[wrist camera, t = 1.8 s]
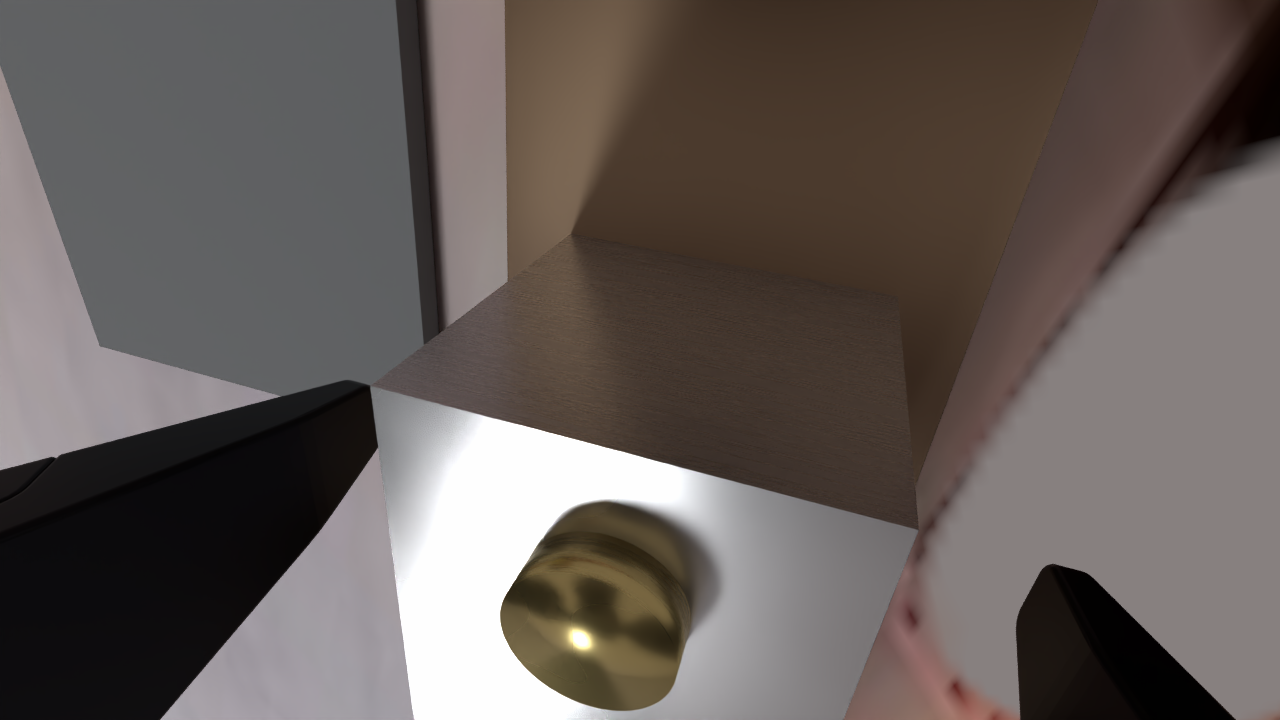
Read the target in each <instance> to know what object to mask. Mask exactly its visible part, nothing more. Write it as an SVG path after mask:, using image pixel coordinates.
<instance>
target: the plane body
mask: <svg viewBox="0 0 1280 720" xmlns="http://www.w3.org/2000/svg"><path fill="white" fill-rule="evenodd" d="M1097 3H1098V0H505V63H506V159H507V256H508V281H509V280H510V279H512V278H513V277H514V276H516V275H517V274H518V273H520V272H521V271H522V270H524V269H525V268H526V267H528V266H529V265H530V264H532V263H533V262H534V261H535V260H537V259H538V258H539V257H541V256H542V255H543V254H545V253H546V252H547V251H549V250H550V249H551V248H553V247H554V246H555V245H557V244H558V243H559V242H561V241H562V240H563V239H564V238H566V237H567V236H568V235H570V234H576V235H581V236H586V237H591V238H597V239H602V240H607V241H612V242H617V243H623V244H628V245H633V246H638V247H644V248H649V249H654V250H659V251H664V252H670V253H675V254H680V255H685V256H690V257H696V258H701V259H706V260H711V261H717V262H722V263H727V264H732V265H737V266H743V267H748V268H753V269H758V270H764V271H769V272H774V273H779V274H784V275H790V276H795V277H800V278H805V279H810V280H816V281H821V282H826V283H831V284H837V285H842V286H847V287H852V288H857V289H863V290H868V291H873V292H878V293H884V294H889V295H894V296H898V304H899V315H900V326H901V337H902V349H903V360H904V371H905V382H906V393H907V405H908V416H909V427H910V438H911V449H912V460H913V472H914V483H915V485H916V482H917V480H918V477H919V475H920V472H921V469H922V467H923V464H924V461H925V459H926V456H927V453H928V451H929V448H930V445H931V443H932V440H933V437H934V435H935V432H936V429H937V427H938V424H939V422H940V419H941V416H942V414H943V411H944V408H945V406H946V403H947V400H948V398H949V395H950V392H951V390H952V387H953V384H954V382H955V379H956V376H957V374H958V371H959V369H960V366H961V363H962V361H963V358H964V355H965V353H966V350H967V347H968V345H969V342H970V339H971V337H972V334H973V331H974V329H975V326H976V323H977V321H978V318H979V316H980V313H981V310H982V308H983V305H984V302H985V300H986V297H987V294H988V292H989V289H990V286H991V284H992V281H993V278H994V276H995V273H996V270H997V268H998V265H999V263H1000V260H1001V257H1002V255H1003V252H1004V249H1005V247H1006V244H1007V241H1008V239H1009V236H1010V233H1011V231H1012V228H1013V225H1014V223H1015V220H1016V217H1017V215H1018V212H1019V210H1020V207H1021V204H1022V202H1023V199H1024V196H1025V194H1026V191H1027V188H1028V186H1029V183H1030V180H1031V178H1032V175H1033V172H1034V170H1035V167H1036V164H1037V162H1038V159H1039V157H1040V154H1041V151H1042V149H1043V146H1044V143H1045V141H1046V138H1047V135H1048V133H1049V130H1050V127H1051V125H1052V122H1053V119H1054V117H1055V114H1056V112H1057V109H1058V106H1059V104H1060V101H1061V98H1062V96H1063V93H1064V90H1065V88H1066V85H1067V82H1068V80H1069V77H1070V74H1071V72H1072V69H1073V66H1074V64H1075V61H1076V59H1077V56H1078V53H1079V51H1080V48H1081V45H1082V43H1083V40H1084V37H1085V35H1086V32H1087V29H1088V27H1089V24H1090V21H1091V19H1092V16H1093V13H1094V11H1095V8H1096V6H1097Z"/></svg>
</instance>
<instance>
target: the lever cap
mask: <svg viewBox="0 0 1280 720" xmlns="http://www.w3.org/2000/svg"><path fill="white" fill-rule="evenodd" d="M370 388H371V396H372V404H373V411H374V419H375V426H376V434H377V442H378V449H379V457H380V464H381V472H382V480H383V487H384V495H385V502H386V510H387V518H388V525H389V533H390V540H391V548H392V556H393V563H394V571H395V579H396V586H397V594H398V601H399V609H400V617H401V624H402V632H403V639H404V647H405V655H406V662H407V670H408V677H409V685H410V693H411V700H412V708H413V715H414V720H843V719H844V717H845V714H846V712H847V709H848V707H849V704H850V702H851V699H852V697H853V694H854V692H855V689H856V687H857V684H858V682H859V679H860V677H861V674H862V672H863V669H864V667H865V664H866V662H867V659H868V656H869V654H870V651H871V649H872V646H873V644H874V641H875V639H876V636H877V634H878V631H879V629H880V626H881V624H882V621H883V619H884V616H885V614H886V611H887V609H888V606H889V604H890V601H891V599H892V596H893V594H894V591H895V589H896V586H897V584H898V581H899V579H900V576H901V573H902V571H903V568H904V566H905V563H906V561H907V558H908V556H909V553H910V551H911V548H912V546H913V543H914V541H915V538H916V536H917V533H918V531H919V527H918V516H917V505H916V494H915V483H914V472H913V460H912V449H911V438H910V427H909V416H908V405H907V393H906V382H905V371H904V360H903V349H902V337H901V326H900V315H899V304H898V296H894V295H889V294H884V293H878V292H873V291H868V290H863V289H857V288H852V287H847V286H842V285H837V284H831V283H826V282H821V281H816V280H810V279H805V278H800V277H795V276H790V275H784V274H779V273H774V272H769V271H764V270H758V269H753V268H748V267H743V266H737V265H732V264H727V263H722V262H717V261H711V260H706V259H701V258H696V257H690V256H685V255H680V254H675V253H670V252H664V251H659V250H654V249H649V248H644V247H638V246H633V245H628V244H623V243H617V242H612V241H607V240H602V239H597V238H591V237H586V236H581V235H576V234H570V235H568V236H567V237H566V238H564V239H563V240H562V241H561V242H559V243H558V244H557V245H555V246H554V247H553V248H551V249H550V250H549V251H547V252H546V253H545V254H543V255H542V256H541V257H539V258H538V259H537V260H535V261H534V262H533V263H532V264H530V265H529V266H528V267H526V268H525V269H524V270H522V271H521V272H520V273H518V274H517V275H516V276H514V277H513V278H512V279H510V280H509V281H508V282H506V283H505V284H504V285H503V286H501V287H500V288H499V289H497V290H496V291H495V292H493V293H492V294H491V295H489V296H488V297H487V298H485V299H484V300H483V301H481V302H480V303H479V304H477V305H476V306H475V307H474V308H472V309H471V310H470V311H468V312H467V313H466V314H464V315H463V316H462V317H460V318H459V319H458V320H456V321H455V322H454V323H452V324H451V325H450V326H448V327H447V328H446V329H445V330H443V331H442V332H441V333H439V334H438V335H437V336H435V337H434V338H433V339H431V340H430V341H429V342H427V343H426V344H425V345H423V346H422V347H421V348H420V349H418V350H417V351H416V352H414V353H413V354H412V355H410V356H409V357H408V358H406V359H405V360H404V361H402V362H401V363H400V364H398V365H397V366H396V367H394V368H393V369H392V370H391V371H389V372H388V373H387V374H385V375H384V376H383V377H381V378H380V379H379V380H377V381H376V382H375V383H373V384H372V385H371V386H370Z"/></svg>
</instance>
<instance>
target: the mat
mask: <svg viewBox="0 0 1280 720" xmlns="http://www.w3.org/2000/svg"><path fill="white" fill-rule="evenodd" d="M0 66H1V69H2V72H3V74H4V77H5V80H6V83H7V86H8V89H9V91H10V94H11V97H12V100H13V103H14V105H15V108H16V111H17V114H18V117H19V119H20V122H21V125H22V128H23V131H24V134H25V136H26V139H27V142H28V145H29V148H30V150H31V153H32V156H33V159H34V162H35V165H36V167H37V170H38V173H39V176H40V179H41V181H42V184H43V187H44V190H45V193H46V196H47V198H48V201H49V204H50V207H51V210H52V212H53V215H54V218H55V221H56V224H57V227H58V229H59V232H60V235H61V238H62V241H63V243H64V246H65V249H66V252H67V255H68V258H69V260H70V263H71V266H72V269H73V272H74V274H75V277H76V280H77V283H78V286H79V288H80V291H81V294H82V297H83V300H84V303H85V305H86V308H87V311H88V314H89V317H90V319H91V322H92V325H93V328H94V331H95V334H96V336H97V339H98V342H99V345H100V346H101V347H105V348H109V349H112V350H116V351H120V352H123V353H127V354H130V355H134V356H138V357H141V358H145V359H149V360H152V361H156V362H159V363H163V364H167V365H170V366H174V367H178V368H181V369H185V370H188V371H192V372H196V373H199V374H203V375H207V376H210V377H214V378H217V379H221V380H225V381H228V382H232V383H236V384H239V385H243V386H246V387H250V388H254V389H257V390H261V391H265V392H268V393H272V394H275V395H279V396H285V395H289V394H293V393H297V392H300V391H304V390H308V389H312V388H316V387H319V386H323V385H327V384H331V383H335V382H338V381H342V380H353V381H357V382H360V383H364V384H368V385H372V384H373V383H375V382H376V381H377V380H379V379H380V378H381V377H383V376H384V375H385V374H387V373H388V372H389V371H391V370H392V369H393V368H394V367H396V366H397V365H398V364H400V363H401V362H402V361H404V360H405V359H406V358H408V357H409V356H410V355H412V354H413V353H414V352H416V351H417V350H418V349H420V348H421V347H422V346H423V345H425V344H426V343H427V342H429V341H430V340H431V339H433V338H434V337H435V336H437V335H438V334H439V327H438V312H437V298H436V283H435V268H434V254H433V239H432V224H431V210H430V195H429V180H428V166H427V151H426V136H425V122H424V107H423V92H422V78H421V63H420V49H419V34H418V19H417V5H416V0H0Z"/></svg>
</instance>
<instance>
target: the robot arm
mask: <svg viewBox="0 0 1280 720" xmlns="http://www.w3.org/2000/svg"><path fill="white" fill-rule="evenodd" d="M370 386H371V385H368V384H364V383H360V382H357V381H353V380H342V381H338V382H335V383H331V384H327V385H323V386H319V387H316V388H312V389H308V390H304V391H300V392H297V393H293V394H289V395H285V396H281V397H278V398H274V399H270V400H266V401H262V402H259V403H255V404H251V405H247V406H243V407H240V408H236V409H232V410H228V411H224V412H221V413H217V414H213V415H209V416H206V417H202V418H198V419H194V420H190V421H187V422H183V423H179V424H175V425H171V426H168V427H164V428H160V429H156V430H152V431H149V432H145V433H141V434H137V435H133V436H130V437H126V438H122V439H118V440H114V441H111V442H107V443H103V444H99V445H95V446H92V447H88V448H84V449H80V450H76V451H73V452H69V453H65V454H61V455H60V456H58V457H57V458H55V457H49V458H45V459H42V460H38V461H34V462H30V463H27V464H23V465H19V466H15V467H11V468H7V469H3V470H0V720H160V719H161V718H162V717H163V716H164V715H165V713H166V712H167V711H168V710H169V709H170V707H171V706H172V705H173V704H174V703H175V702H176V700H177V699H178V698H179V697H180V696H181V695H182V693H183V692H184V691H185V690H186V689H187V687H188V686H189V685H190V684H191V683H192V682H193V680H194V679H195V678H196V677H197V676H198V675H199V673H200V672H201V671H202V670H203V669H204V667H205V666H206V665H207V664H208V663H209V662H210V660H211V659H212V658H213V657H214V656H215V654H216V653H217V652H218V651H219V650H220V649H221V647H222V646H223V645H224V644H225V643H226V642H227V640H228V639H229V638H230V637H231V636H232V634H233V633H234V632H235V631H236V630H237V629H238V627H239V626H240V625H241V624H242V623H243V622H244V620H245V619H246V618H247V617H248V616H249V614H250V613H251V612H252V611H253V610H254V609H255V607H256V606H257V605H258V604H259V603H260V601H261V600H262V599H263V598H264V597H265V596H266V594H267V593H268V592H269V591H270V590H271V589H272V587H273V586H274V585H275V584H276V583H277V581H278V580H279V579H280V578H281V577H282V576H283V574H284V573H285V572H286V571H287V570H288V569H289V567H290V566H291V565H292V564H293V563H294V561H295V560H296V559H297V558H298V557H299V556H300V554H301V553H302V552H303V551H304V550H305V548H306V547H307V546H308V545H309V544H310V543H311V541H312V540H313V539H314V538H315V536H316V535H317V534H318V533H319V531H320V530H321V529H322V527H323V526H324V525H325V523H326V522H327V521H328V519H329V518H330V516H331V515H332V514H333V512H334V511H335V509H336V508H337V506H338V505H339V503H340V502H341V501H342V499H343V498H344V496H345V495H346V493H347V492H348V490H349V489H350V488H351V486H352V485H353V483H354V482H355V480H356V479H357V477H358V476H359V474H360V473H361V472H362V470H363V469H364V467H365V466H366V464H367V463H368V461H369V460H370V459H371V457H372V456H373V454H374V453H375V451H376V450H377V448H378V442H377V434H376V426H375V419H374V411H373V404H372V396H371V388H370ZM1016 641H1017V661H1018V681H1019V701H1020V720H1236V719H1235V718H1234V717H1232V715H1231V714H1230V713H1229V712H1228V711H1227V710H1226V709H1225V708H1224V707H1223V706H1222V705H1221V704H1220V703H1218V701H1217V700H1216V699H1215V698H1214V697H1212V695H1211V694H1210V693H1208V692H1207V690H1205V689H1204V688H1203V687H1202V686H1201V685H1200V684H1199V683H1198V682H1197V681H1196V680H1195V679H1194V678H1193V677H1192V676H1191V675H1190V674H1189V673H1188V672H1187V671H1186V670H1185V669H1184V668H1183V667H1182V666H1181V665H1180V664H1179V663H1178V662H1177V661H1176V660H1175V659H1174V658H1173V657H1172V656H1171V655H1170V654H1169V653H1168V652H1167V651H1166V650H1165V649H1164V648H1163V647H1162V646H1161V645H1160V644H1159V643H1158V642H1157V641H1156V640H1155V639H1154V638H1153V637H1152V636H1151V635H1150V634H1149V633H1148V632H1147V631H1146V630H1145V629H1144V628H1143V627H1142V626H1141V625H1140V624H1139V623H1138V622H1137V621H1136V620H1135V619H1134V618H1133V617H1132V616H1131V615H1130V614H1129V613H1128V612H1127V611H1126V610H1125V609H1124V608H1123V607H1122V606H1121V605H1120V604H1119V603H1118V602H1117V601H1116V600H1115V599H1114V598H1113V597H1112V596H1111V595H1110V594H1108V592H1107V591H1106V590H1105V589H1104V588H1103V587H1102V586H1101V585H1100V584H1099V583H1098V582H1097V581H1096V580H1095V579H1094V578H1092V577H1091V576H1090V575H1089V574H1087V573H1085V572H1082V571H1079V570H1075V569H1071V568H1067V567H1063V566H1059V565H1056V564H1050V565H1047V566H1045V567H1044V568H1043V569H1042V570H1041V572H1040V574H1039V575H1038V577H1037V579H1036V581H1035V583H1034V585H1033V586H1032V588H1031V590H1030V592H1029V594H1028V596H1027V598H1026V599H1025V601H1024V603H1023V605H1022V607H1021V609H1020V611H1019V614H1018V618H1017V623H1016Z"/></svg>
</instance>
